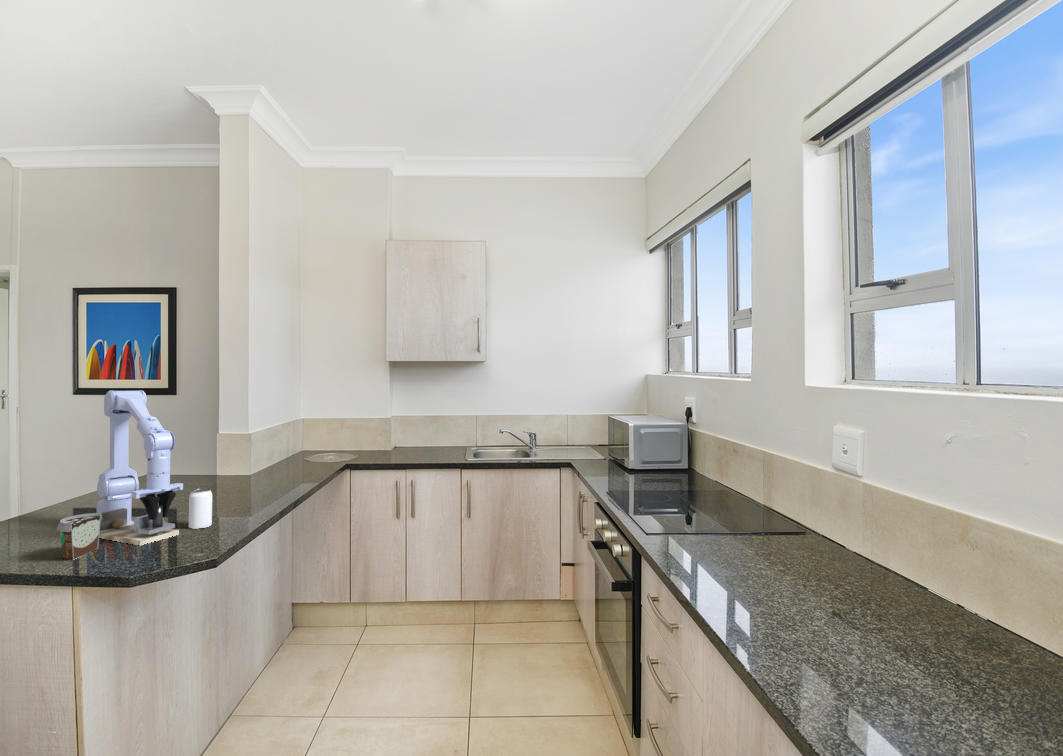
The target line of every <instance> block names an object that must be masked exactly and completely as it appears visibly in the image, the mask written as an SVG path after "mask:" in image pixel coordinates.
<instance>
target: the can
mask: <svg viewBox="0 0 1063 756" xmlns="http://www.w3.org/2000/svg"><path fill="white" fill-rule="evenodd" d="M211 490H212V489H211V488H207V487H204V488H203V487H202V488H201V487H200V488H195V489H191V490H190V494H189V496H188V528H189V529H190V528H192V529H191V530H200V529H199V528H205V529H207V528H206V527H208V528H210V527H211V526H213V523H212V522H213V493H212V491H211ZM209 526H210V527H209Z"/></svg>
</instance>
